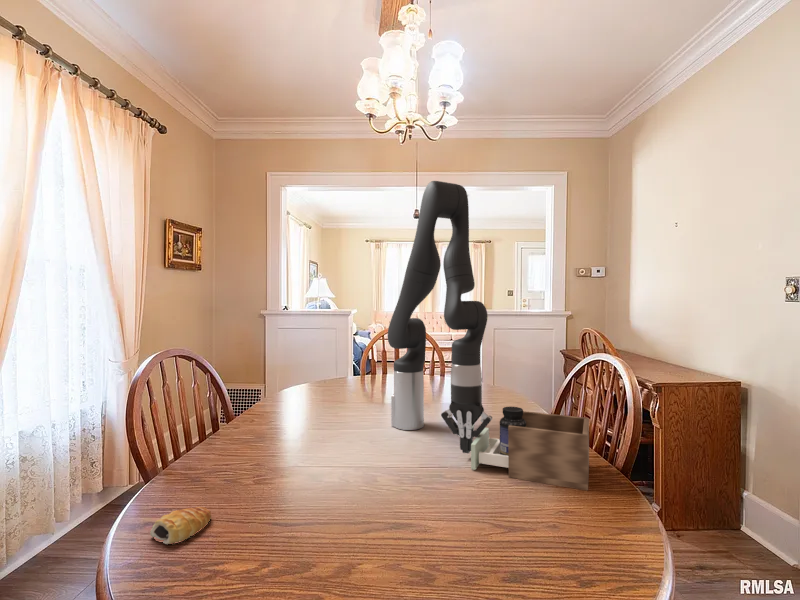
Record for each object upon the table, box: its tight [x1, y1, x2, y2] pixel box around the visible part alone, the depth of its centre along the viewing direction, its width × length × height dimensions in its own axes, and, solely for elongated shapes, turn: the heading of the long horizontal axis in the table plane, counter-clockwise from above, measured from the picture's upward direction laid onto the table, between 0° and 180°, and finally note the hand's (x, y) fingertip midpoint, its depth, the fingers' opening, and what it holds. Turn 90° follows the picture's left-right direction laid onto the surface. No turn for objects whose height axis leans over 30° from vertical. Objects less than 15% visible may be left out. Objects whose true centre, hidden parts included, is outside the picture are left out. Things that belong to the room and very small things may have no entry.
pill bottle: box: [499, 406, 526, 456], centre depth 100 cm, size 6×6×11 cm
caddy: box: [508, 410, 590, 491], centre depth 96 cm, size 16×14×11 cm
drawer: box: [470, 427, 509, 471], centre depth 100 cm, size 16×14×6 cm
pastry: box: [149, 506, 212, 545], centre depth 73 cm, size 9×7×4 cm
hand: (466, 452), depth 104 cm, fingers closed
